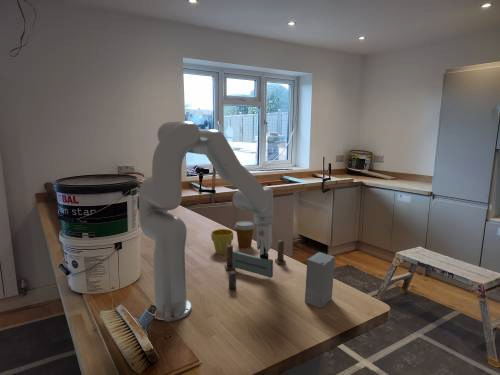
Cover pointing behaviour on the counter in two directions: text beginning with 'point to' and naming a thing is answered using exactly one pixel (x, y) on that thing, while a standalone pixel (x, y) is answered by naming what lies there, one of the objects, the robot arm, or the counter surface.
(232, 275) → the gate posts
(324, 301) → the skincare box
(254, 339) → the counter surface
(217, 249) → the plant pot
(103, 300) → the counter surface
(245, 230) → the disposable coffee cup
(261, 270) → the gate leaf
